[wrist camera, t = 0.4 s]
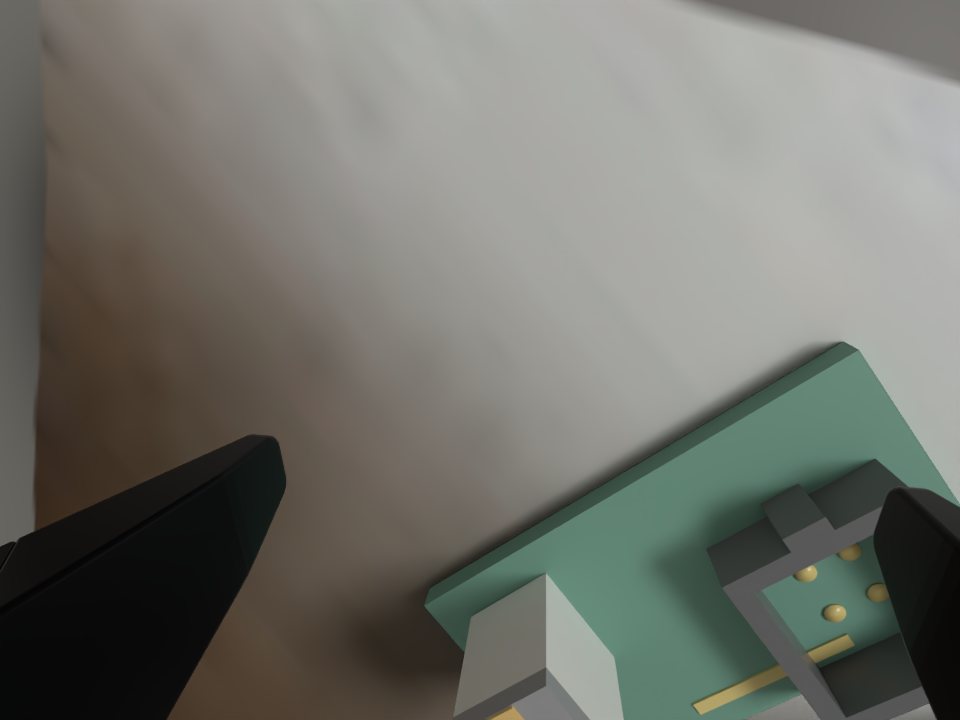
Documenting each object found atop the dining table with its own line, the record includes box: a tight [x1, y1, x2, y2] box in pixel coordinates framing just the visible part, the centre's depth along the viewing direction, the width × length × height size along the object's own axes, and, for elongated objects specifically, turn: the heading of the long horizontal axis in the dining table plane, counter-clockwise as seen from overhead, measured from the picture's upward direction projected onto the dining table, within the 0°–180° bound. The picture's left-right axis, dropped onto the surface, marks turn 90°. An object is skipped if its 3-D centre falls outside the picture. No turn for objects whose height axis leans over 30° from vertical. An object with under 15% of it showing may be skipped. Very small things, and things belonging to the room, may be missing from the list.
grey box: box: [453, 573, 624, 720], centre depth 23 cm, size 4×5×6 cm
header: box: [706, 459, 929, 720], centre depth 22 cm, size 7×9×2 cm
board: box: [424, 342, 960, 720], centre depth 25 cm, size 20×12×1 cm, turn 128°
